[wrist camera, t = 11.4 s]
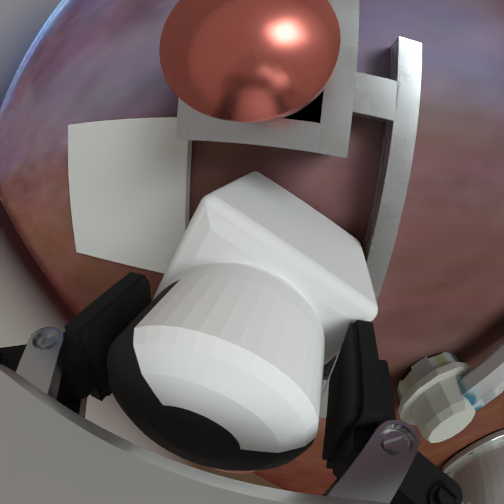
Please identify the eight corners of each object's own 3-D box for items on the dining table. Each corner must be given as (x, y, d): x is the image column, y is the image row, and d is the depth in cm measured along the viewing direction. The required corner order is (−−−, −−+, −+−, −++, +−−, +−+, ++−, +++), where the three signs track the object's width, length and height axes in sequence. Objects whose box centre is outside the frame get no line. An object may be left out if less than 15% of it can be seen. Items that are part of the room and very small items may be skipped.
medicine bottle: (291, 325, 18) (244, 501, 8) (197, 265, 18) (72, 404, 8) (362, 241, 15) (405, 436, 5) (254, 167, 15) (95, 249, 5)
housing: (328, 399, 21) (323, 460, 16) (215, 377, 23) (189, 432, 17) (410, 52, 11) (453, 17, 6) (236, 29, 13) (193, -15, 7)
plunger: (325, 134, 13) (332, 132, 6) (235, 124, 14) (151, 119, 7) (333, 50, 11) (342, -28, 4) (243, 43, 12) (171, -23, 5)
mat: (189, 274, 19) (185, 278, 19) (81, 249, 21) (76, 252, 20) (194, 117, 15) (189, 117, 15) (73, 124, 17) (68, 124, 16)
